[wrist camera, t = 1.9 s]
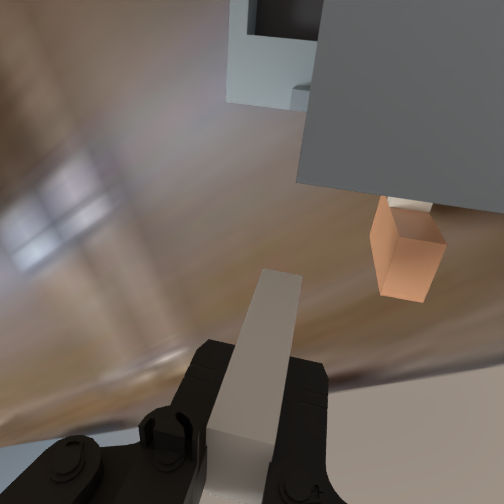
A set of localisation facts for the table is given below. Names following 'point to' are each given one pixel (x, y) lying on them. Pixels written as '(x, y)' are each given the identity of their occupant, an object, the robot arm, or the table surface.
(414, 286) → the light brown angled piece
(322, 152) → the tunnel deck
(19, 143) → the table surface
